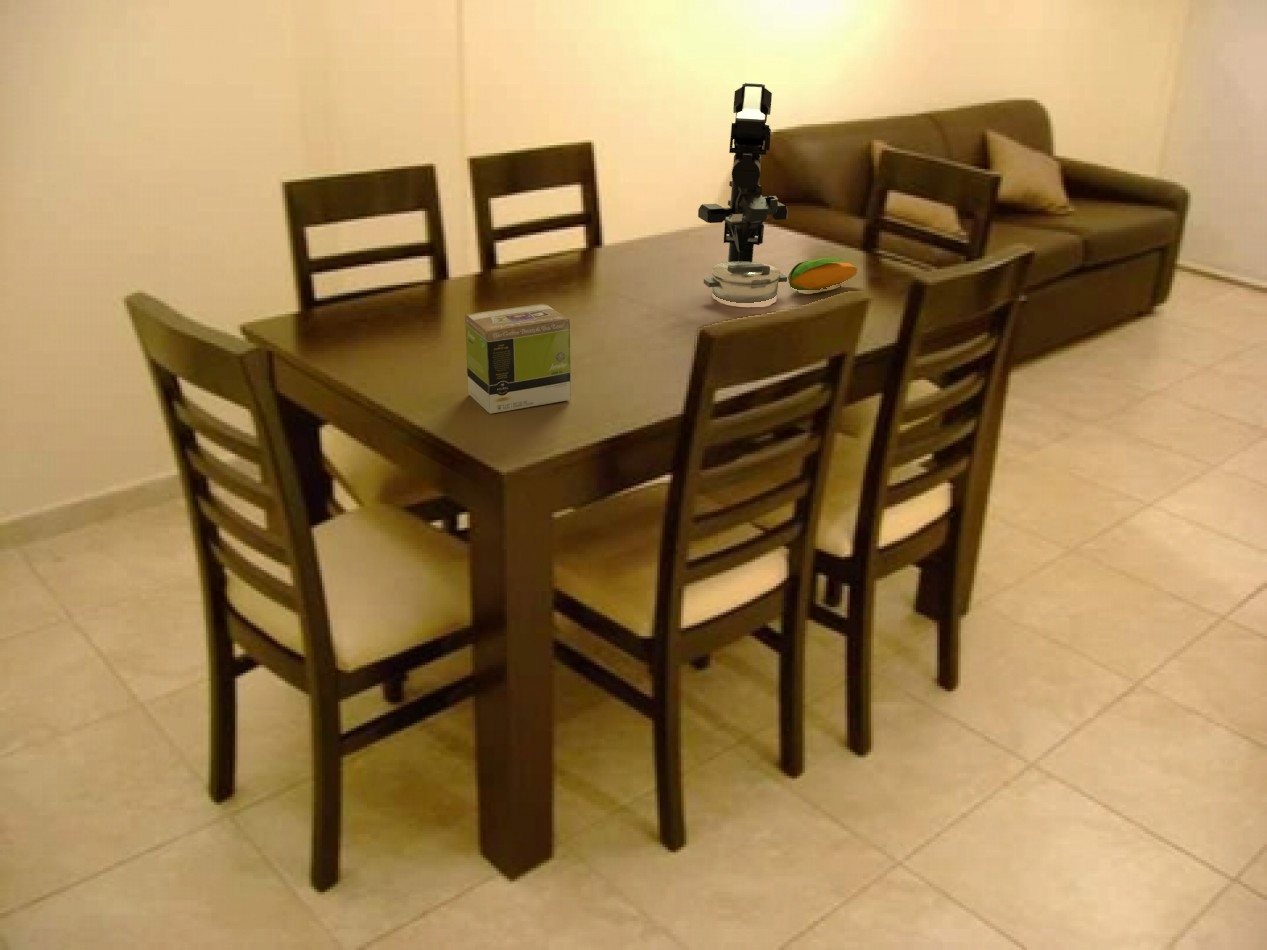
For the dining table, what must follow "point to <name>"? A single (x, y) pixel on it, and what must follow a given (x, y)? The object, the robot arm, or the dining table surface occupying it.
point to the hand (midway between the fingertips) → (740, 251)
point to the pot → (743, 290)
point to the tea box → (518, 357)
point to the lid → (746, 273)
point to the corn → (820, 274)
